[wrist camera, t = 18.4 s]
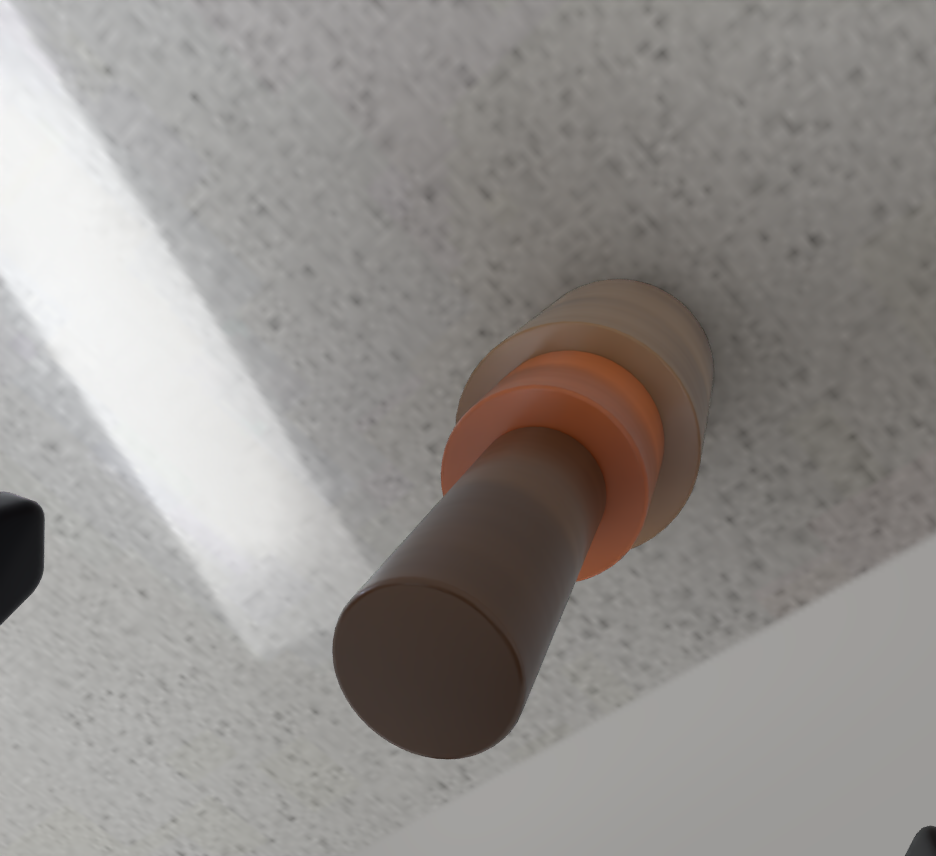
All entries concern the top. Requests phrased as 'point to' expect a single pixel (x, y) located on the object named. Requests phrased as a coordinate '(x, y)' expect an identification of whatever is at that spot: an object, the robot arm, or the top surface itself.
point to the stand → (639, 352)
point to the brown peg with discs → (500, 554)
